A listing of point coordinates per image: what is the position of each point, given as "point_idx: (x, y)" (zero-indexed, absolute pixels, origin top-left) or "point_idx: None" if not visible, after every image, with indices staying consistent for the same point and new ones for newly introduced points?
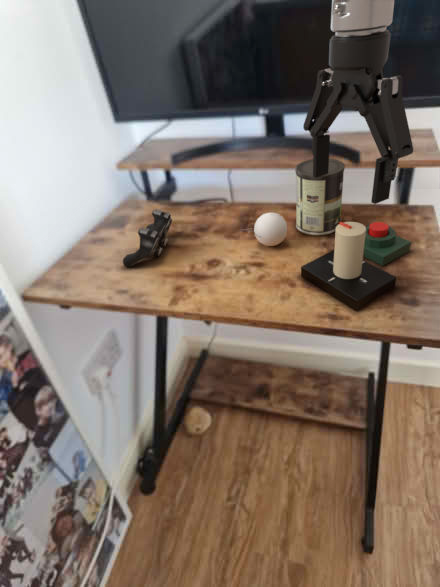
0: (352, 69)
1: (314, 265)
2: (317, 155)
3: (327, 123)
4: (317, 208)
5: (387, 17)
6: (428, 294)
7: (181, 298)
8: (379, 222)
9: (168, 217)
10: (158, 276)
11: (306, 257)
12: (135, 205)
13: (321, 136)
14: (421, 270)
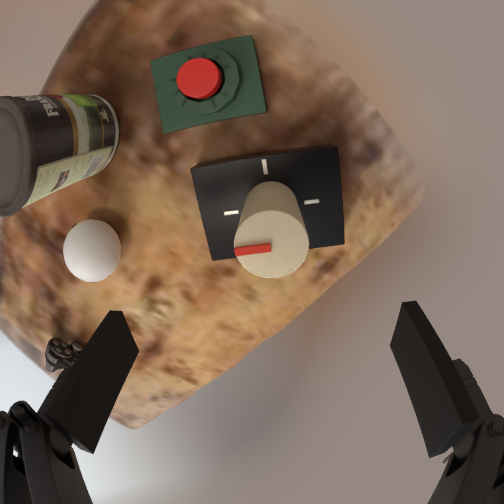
0: None
1: (221, 241)
2: (111, 404)
3: (74, 494)
4: (79, 167)
5: None
6: (372, 116)
7: (188, 374)
8: (183, 67)
9: (55, 358)
10: (137, 372)
11: (167, 210)
12: (2, 321)
13: (64, 433)
14: (316, 69)
